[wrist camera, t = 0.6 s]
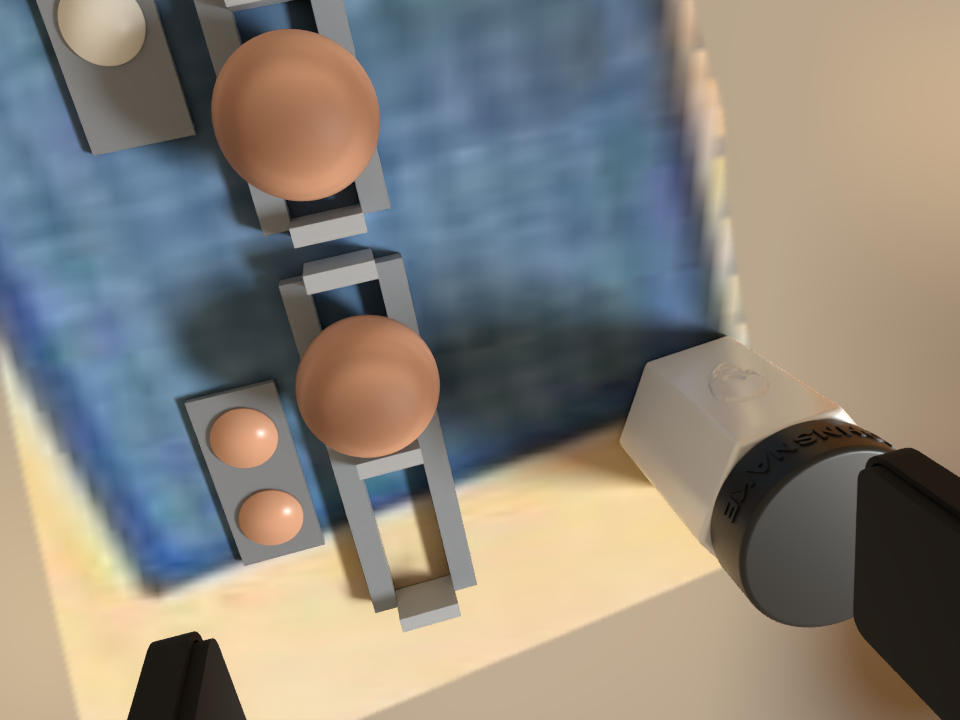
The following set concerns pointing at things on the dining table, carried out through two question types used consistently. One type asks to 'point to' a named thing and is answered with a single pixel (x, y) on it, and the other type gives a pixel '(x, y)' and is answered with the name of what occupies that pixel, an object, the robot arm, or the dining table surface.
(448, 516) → the grey ball rail
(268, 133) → the terracotta ball
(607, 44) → the dining table surface
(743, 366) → the jar
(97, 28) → the tiles
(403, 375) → the terracotta ball
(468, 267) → the dining table surface
